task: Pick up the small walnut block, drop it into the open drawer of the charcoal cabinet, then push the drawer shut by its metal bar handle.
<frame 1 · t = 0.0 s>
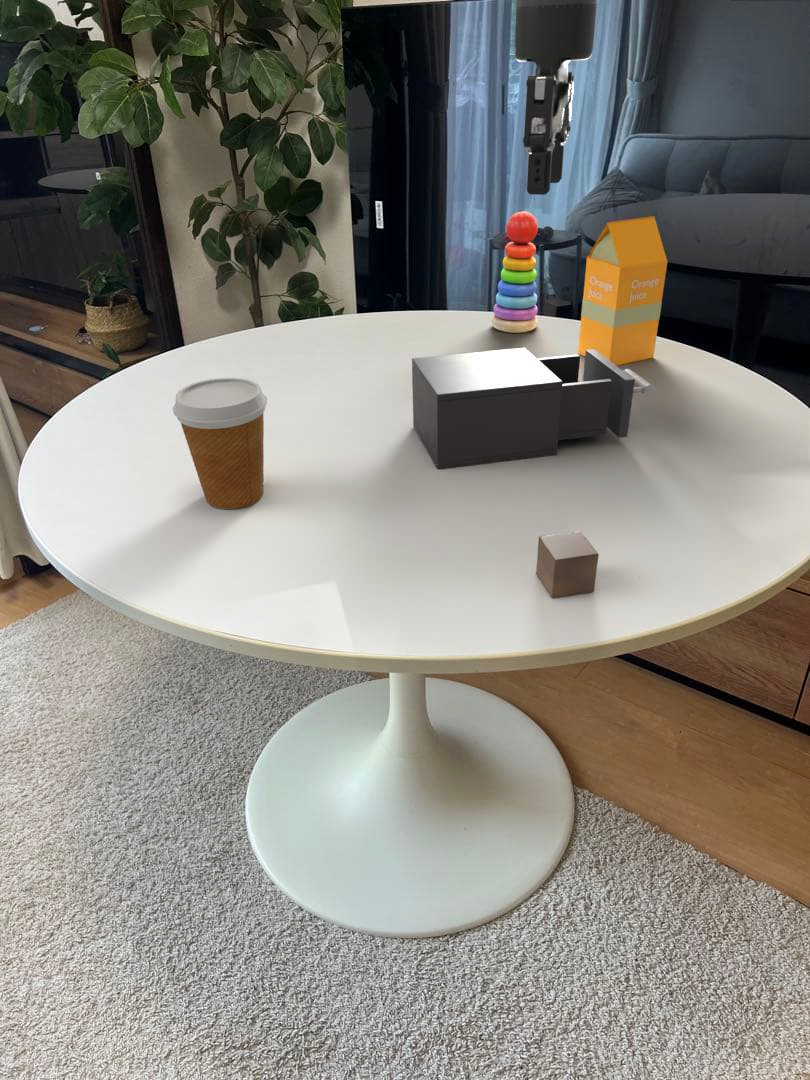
hand: (544, 187, 83), 28 cm above the table, tool pointing down, fingers open, 8 cm apart
disposable coffee cup: (235, 497, 87), on the table
block: (564, 582, 71), on the table
stacking toy: (514, 328, 137), on the table
drawer: (575, 395, 97), point 5 cm above the table, slide at 8.0 cm
orange juice: (615, 356, 123), on the table
cabinet: (482, 440, 97), on the table
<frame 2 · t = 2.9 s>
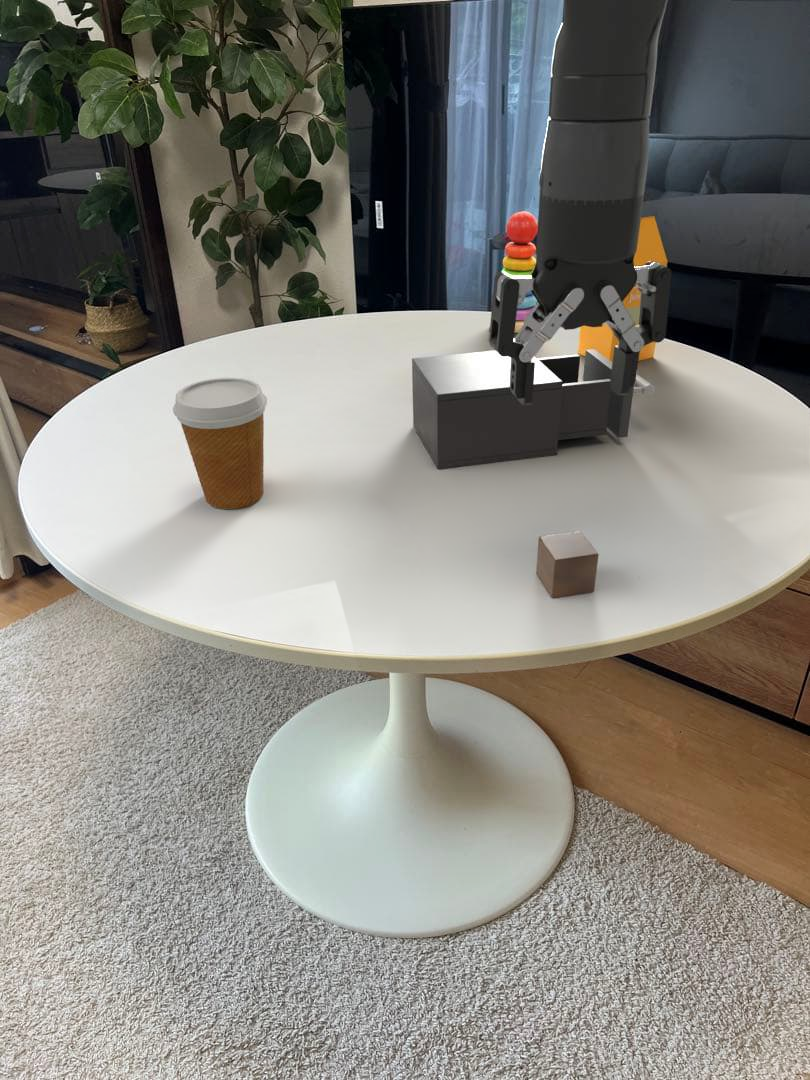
hand: (571, 396, 66), 16 cm above the table, tool pointing down, fingers open, 8 cm apart
nothing on the table moved.
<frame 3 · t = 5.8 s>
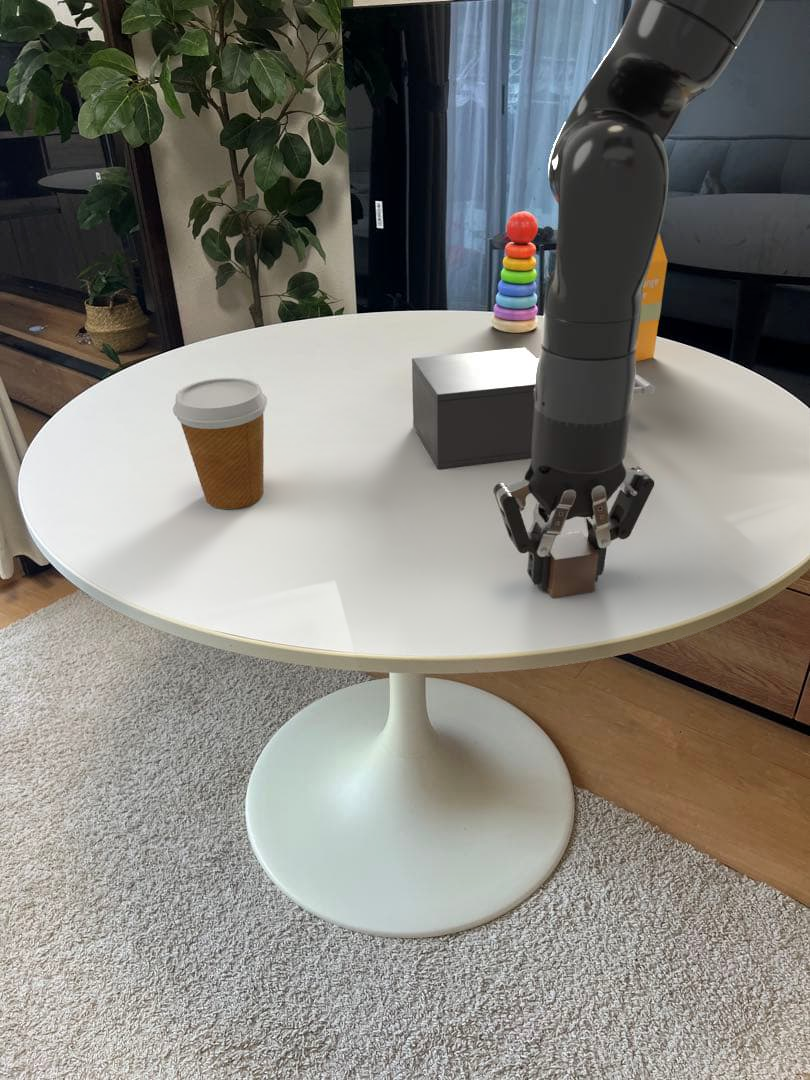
hand: (564, 580, 71), 0 cm above the table, tool pointing down, fingers closed on block, 4 cm apart
block: (564, 582, 71), on the table, touching gripper
everything else where it was.
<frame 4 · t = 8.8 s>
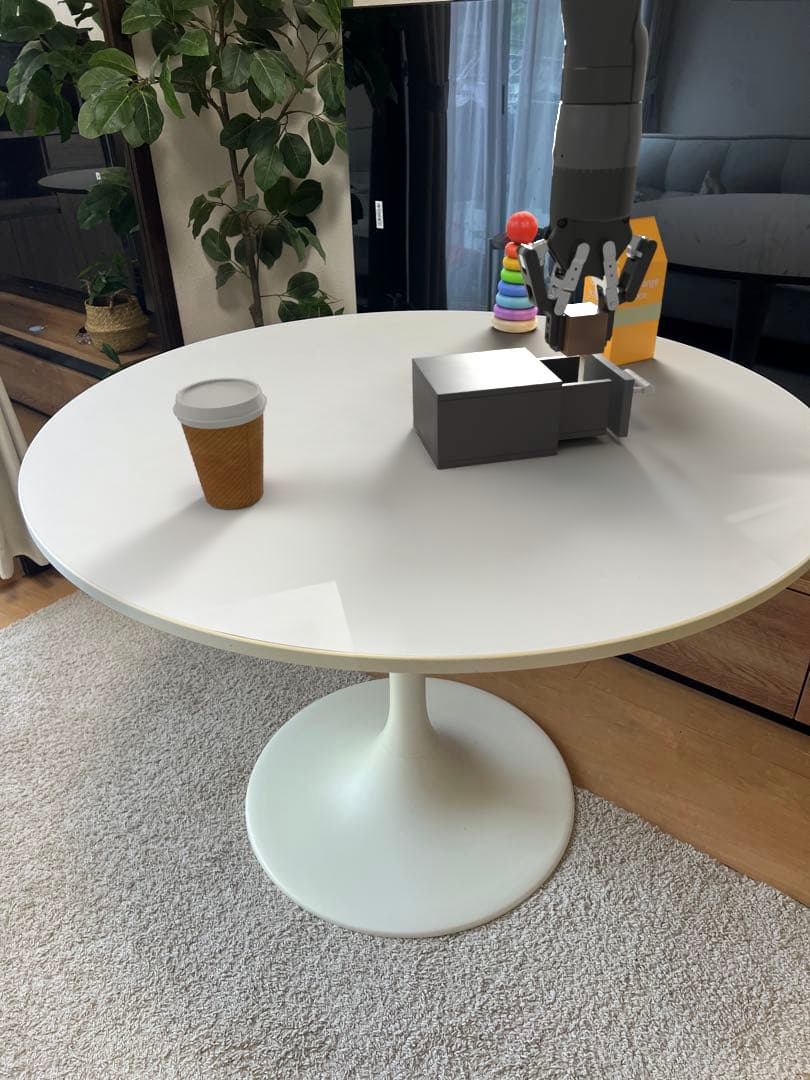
hand: (577, 346, 79), 15 cm above the table, tool pointing down, fingers closed on block, 4 cm apart
block: (577, 349, 80), point 15 cm above the table, touching gripper
everything else where it was.
when the fingers open (8 cm above the table, at t = 12.1 s): block drops 6 cm, resting on drawer.
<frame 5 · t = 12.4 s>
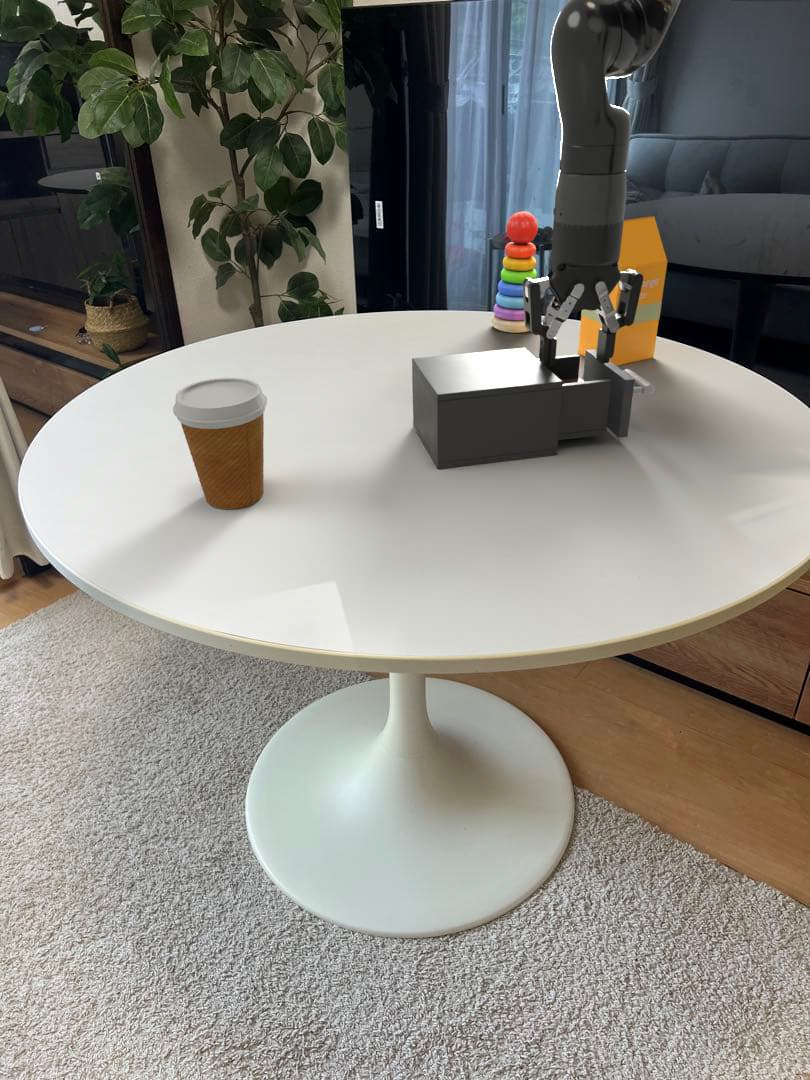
hand: (575, 363, 95), 9 cm above the table, tool pointing down, fingers open, 6 cm apart
block: (569, 415, 98), point 2 cm above the table, touching drawer
drawer: (575, 395, 97), point 5 cm above the table, slide at 8.0 cm, touching block
everything else where it was.
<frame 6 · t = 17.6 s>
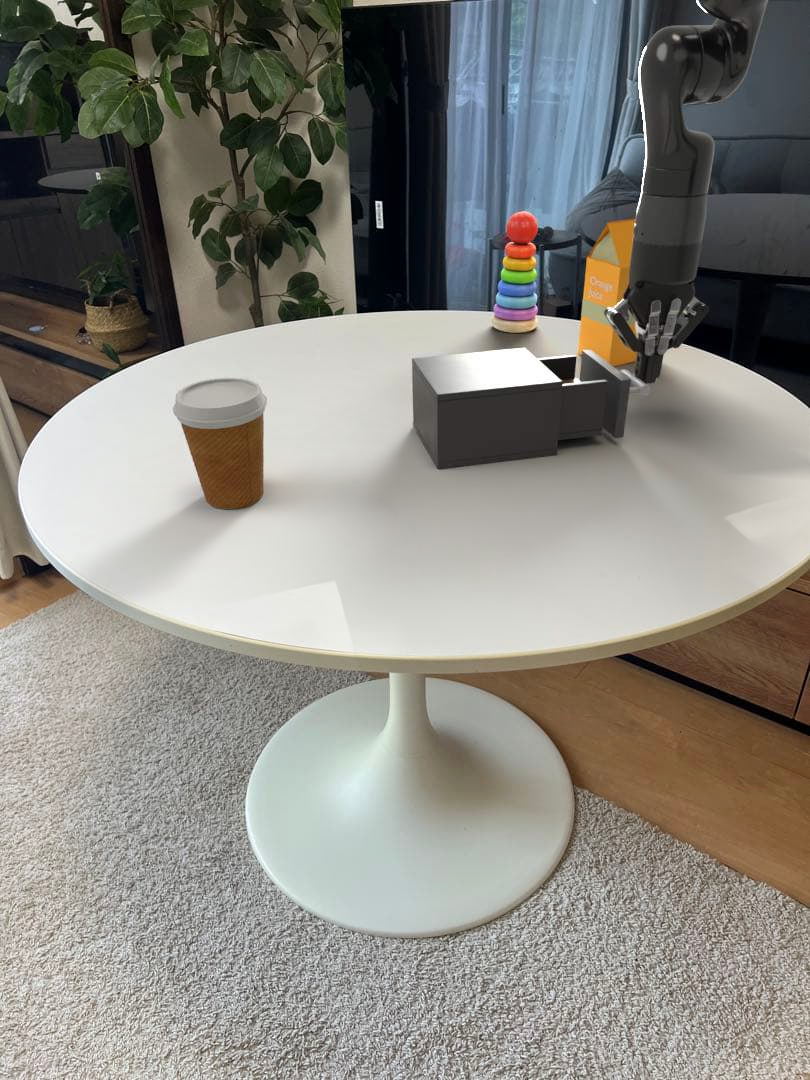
hand: (646, 381, 98), 5 cm above the table, tool pointing down, fingers closed
drawer: (571, 396, 97), point 5 cm above the table, slide at 7.5 cm, touching block, gripper
everything else where it was.
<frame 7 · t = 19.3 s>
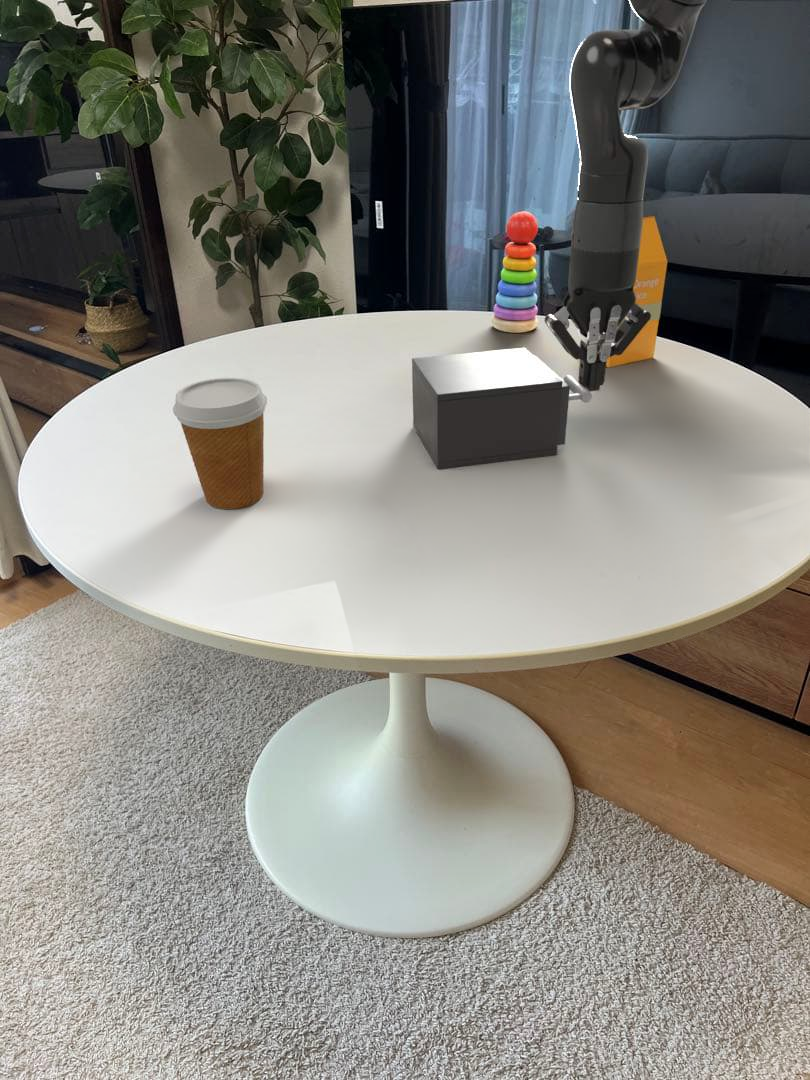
hand: (590, 388, 97), 5 cm above the table, tool pointing down, fingers closed
block: (508, 422, 97), point 2 cm above the table, touching drawer
drawer: (513, 402, 96), point 5 cm above the table, slide at 0.0 cm, touching block, cabinet, gripper
everything else where it was.
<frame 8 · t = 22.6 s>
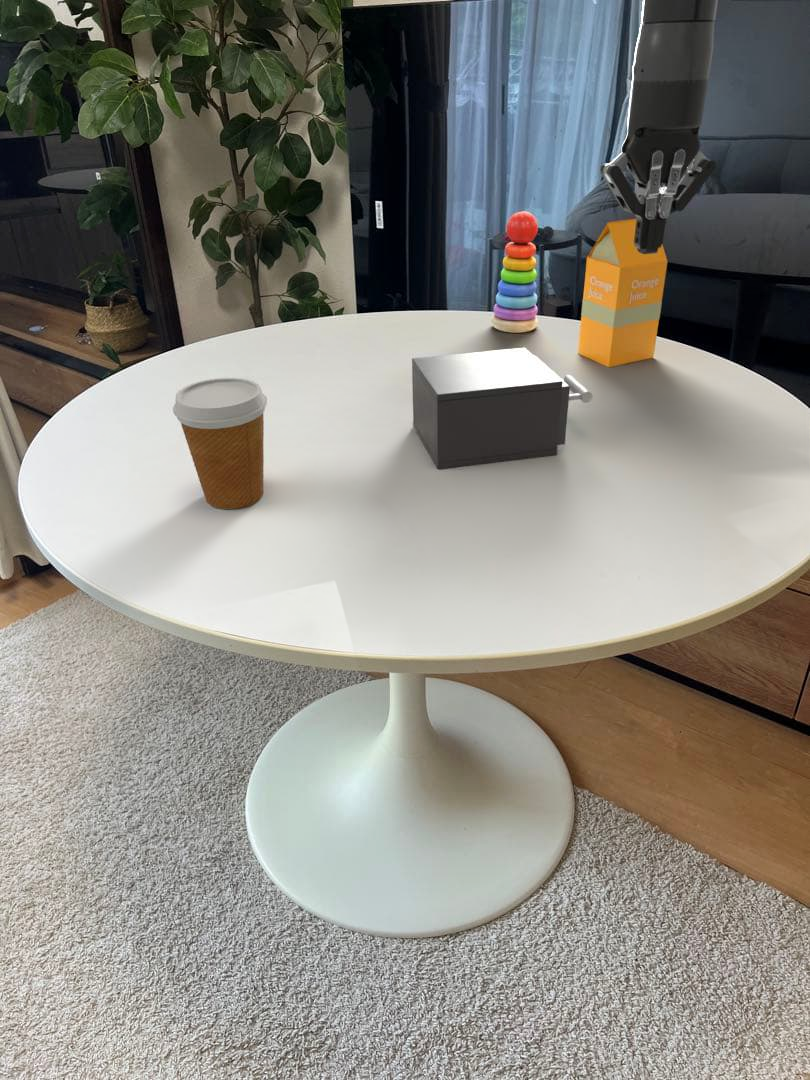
hand: (647, 252, 89), 21 cm above the table, tool pointing down, fingers closed
drawer: (513, 402, 96), point 5 cm above the table, slide at 0.0 cm, touching block
everything else where it was.
at the end: block inside the target area in the cabinet (3.3 cm from its centre), point 2.0 cm above the cabinet's base; drawer slide at 0.0 cm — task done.
